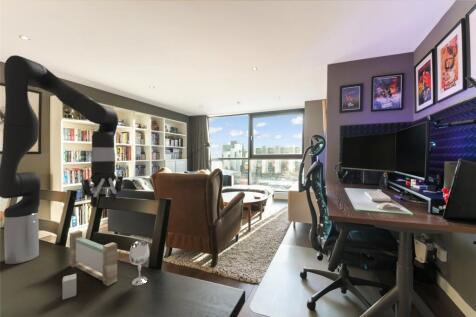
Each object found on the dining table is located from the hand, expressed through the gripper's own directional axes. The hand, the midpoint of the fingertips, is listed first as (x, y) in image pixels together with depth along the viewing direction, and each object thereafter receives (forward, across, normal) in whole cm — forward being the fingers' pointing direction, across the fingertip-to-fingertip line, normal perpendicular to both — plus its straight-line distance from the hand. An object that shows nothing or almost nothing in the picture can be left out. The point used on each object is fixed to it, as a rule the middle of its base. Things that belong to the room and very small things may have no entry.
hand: (103, 205), depth 79 cm
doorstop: (+22, +15, +10) cm, 28 cm away
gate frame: (+22, +6, +4) cm, 23 cm away
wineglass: (+22, +1, +22) cm, 31 cm away
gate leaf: (+20, +6, +4) cm, 21 cm away
